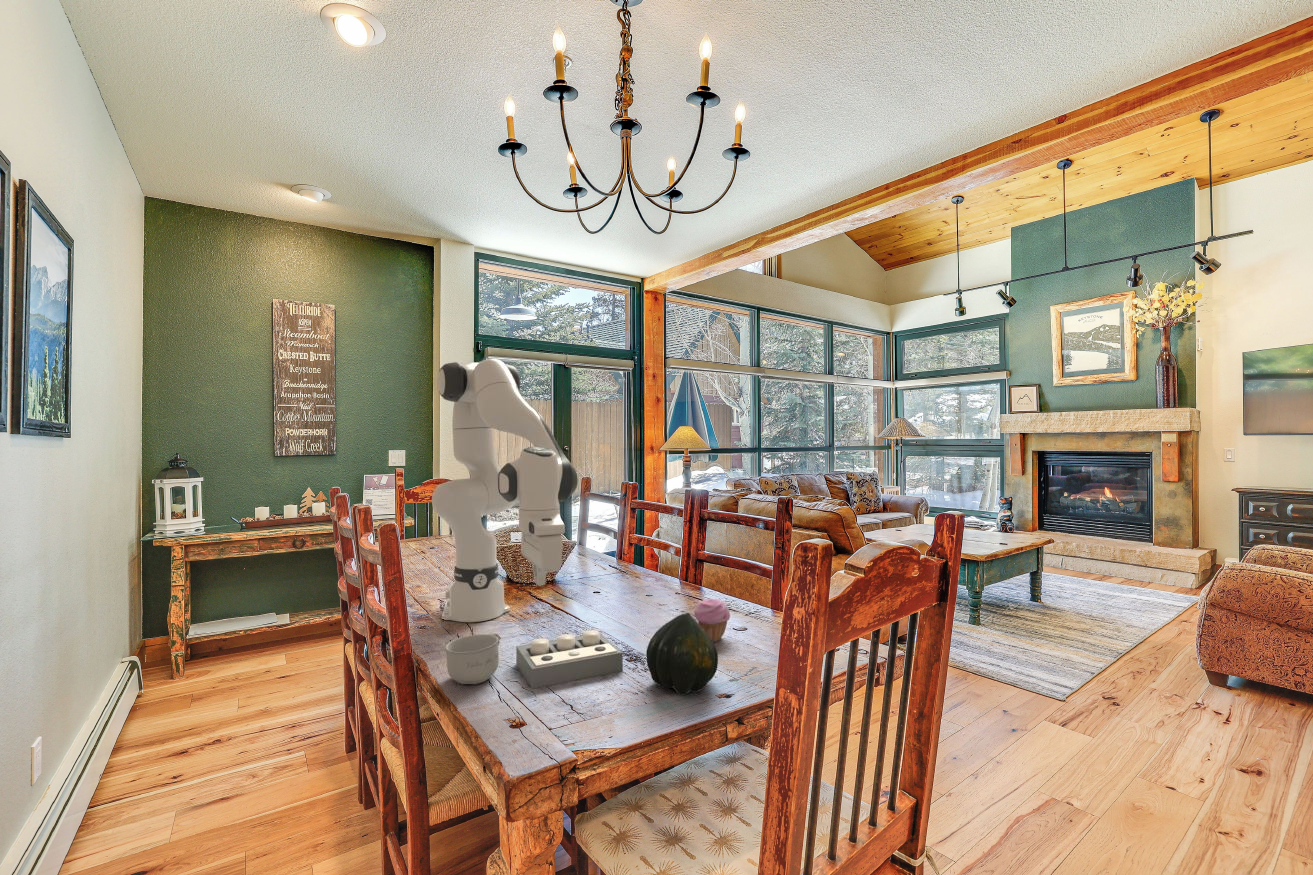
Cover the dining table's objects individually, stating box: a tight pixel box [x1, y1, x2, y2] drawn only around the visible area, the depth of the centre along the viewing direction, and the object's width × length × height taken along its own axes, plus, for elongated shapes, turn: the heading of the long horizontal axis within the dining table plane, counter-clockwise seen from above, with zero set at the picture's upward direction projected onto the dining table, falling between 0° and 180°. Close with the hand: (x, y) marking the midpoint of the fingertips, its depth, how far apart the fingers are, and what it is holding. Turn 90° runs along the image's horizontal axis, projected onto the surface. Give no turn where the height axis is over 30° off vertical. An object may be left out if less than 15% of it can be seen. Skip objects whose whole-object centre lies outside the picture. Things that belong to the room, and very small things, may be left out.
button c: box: [581, 629, 601, 647], centre depth 135 cm, size 4×4×3 cm
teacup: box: [444, 631, 501, 685], centre depth 126 cm, size 14×11×8 cm
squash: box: [645, 612, 719, 696], centre depth 121 cm, size 14×15×15 cm
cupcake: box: [693, 598, 731, 643], centre depth 148 cm, size 9×9×10 cm
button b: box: [556, 633, 576, 652], centre depth 132 cm, size 4×4×3 cm
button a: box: [529, 638, 550, 657], centre depth 129 cm, size 4×4×3 cm
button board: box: [515, 632, 624, 690], centre depth 130 cm, size 14×20×4 cm
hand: (539, 584), depth 129 cm, fingers closed
